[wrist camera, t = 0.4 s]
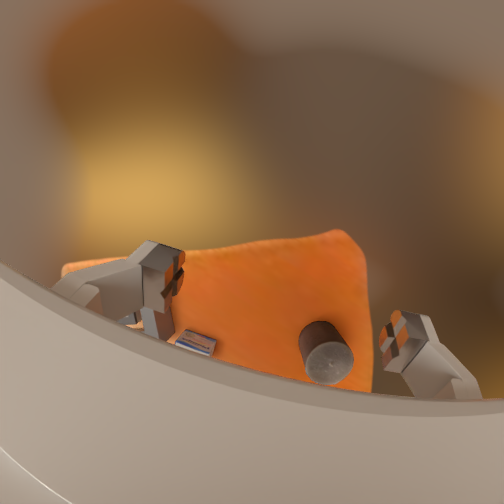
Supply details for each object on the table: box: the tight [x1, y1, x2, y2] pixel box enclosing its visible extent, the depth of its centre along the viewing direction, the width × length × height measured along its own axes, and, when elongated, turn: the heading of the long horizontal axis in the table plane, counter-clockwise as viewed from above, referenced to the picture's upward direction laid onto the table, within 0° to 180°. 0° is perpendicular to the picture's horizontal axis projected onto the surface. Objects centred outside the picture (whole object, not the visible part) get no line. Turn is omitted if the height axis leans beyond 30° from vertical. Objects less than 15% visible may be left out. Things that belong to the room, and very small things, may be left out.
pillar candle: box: [299, 321, 354, 385], centre depth 55 cm, size 10×10×15 cm
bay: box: [135, 306, 175, 341], centre depth 59 cm, size 14×17×10 cm
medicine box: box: [175, 330, 216, 357], centre depth 60 cm, size 8×4×9 cm, turn 72°
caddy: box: [116, 310, 142, 325], centre depth 60 cm, size 5×7×8 cm, turn 98°
